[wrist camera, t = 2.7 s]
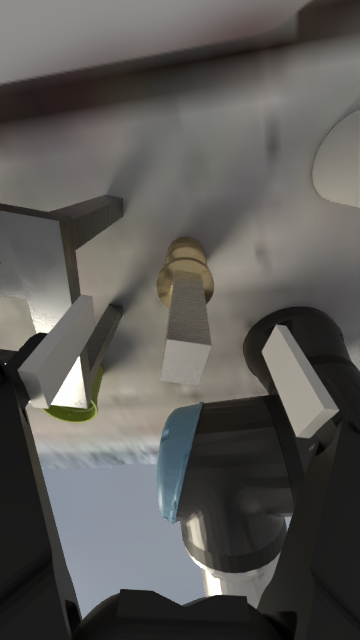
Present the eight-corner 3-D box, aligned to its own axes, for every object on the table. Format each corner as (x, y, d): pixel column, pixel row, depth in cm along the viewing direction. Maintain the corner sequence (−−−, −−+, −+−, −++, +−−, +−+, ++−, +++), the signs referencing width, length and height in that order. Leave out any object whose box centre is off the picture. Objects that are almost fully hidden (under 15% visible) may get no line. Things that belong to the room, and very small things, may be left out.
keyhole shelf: (127, 194, 25) (58, 221, 12) (124, 319, 35) (87, 408, 22) (-77, 155, 23) (-421, 136, 10) (-17, 298, 33) (-148, 381, 20)
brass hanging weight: (211, 238, 27) (244, 335, 11) (201, 278, 30) (217, 397, 15) (167, 231, 27) (139, 319, 11) (162, 272, 30) (135, 387, 14)
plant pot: (57, 348, 39) (28, 387, 32) (108, 351, 39) (91, 391, 32) (69, 381, 45) (47, 421, 37) (115, 384, 45) (101, 424, 38)
